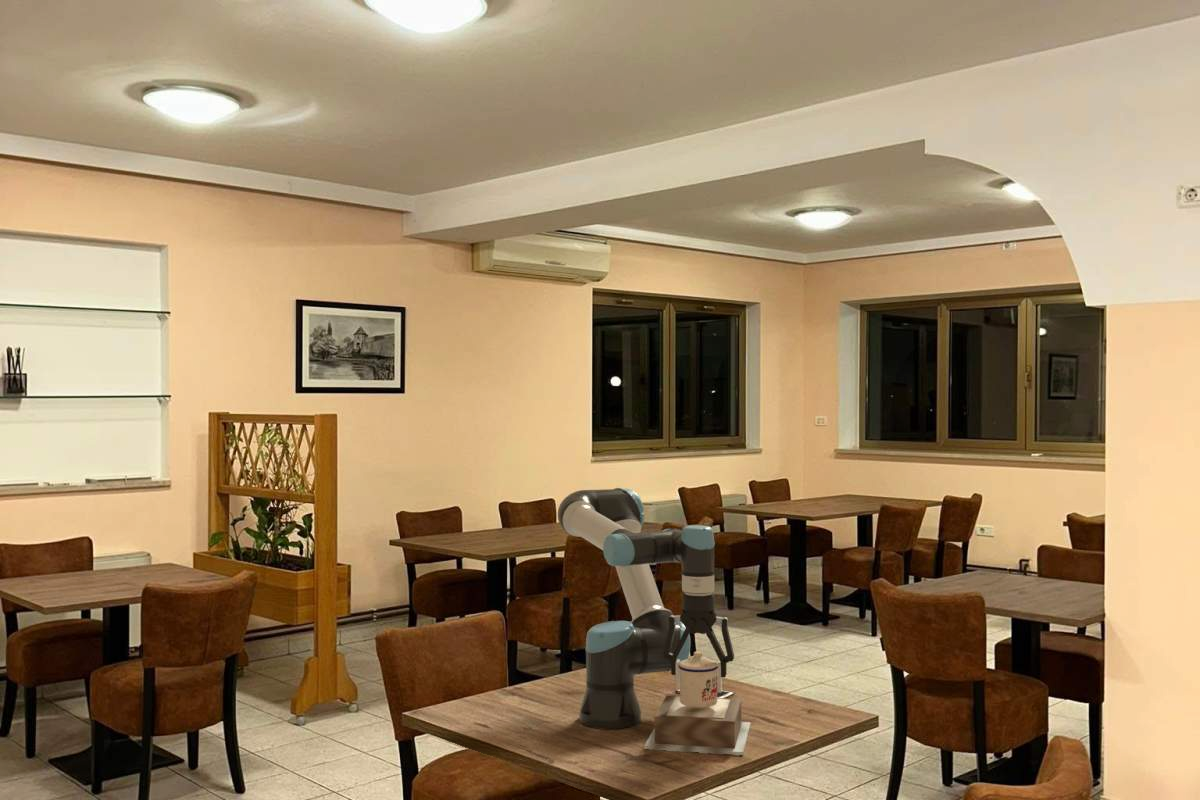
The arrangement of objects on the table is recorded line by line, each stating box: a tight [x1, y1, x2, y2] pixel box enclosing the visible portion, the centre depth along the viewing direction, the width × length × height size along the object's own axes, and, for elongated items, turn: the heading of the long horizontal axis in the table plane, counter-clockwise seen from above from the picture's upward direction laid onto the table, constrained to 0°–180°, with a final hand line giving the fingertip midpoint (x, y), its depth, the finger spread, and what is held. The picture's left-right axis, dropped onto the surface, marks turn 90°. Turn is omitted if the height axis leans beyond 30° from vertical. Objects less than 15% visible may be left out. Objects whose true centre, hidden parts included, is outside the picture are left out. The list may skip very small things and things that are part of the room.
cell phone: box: [674, 688, 736, 699], centre depth 280 cm, size 8×15×1 cm, turn 53°
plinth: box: [643, 694, 752, 756], centre depth 244 cm, size 22×22×7 cm
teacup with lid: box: [678, 651, 718, 708], centre depth 244 cm, size 12×9×12 cm
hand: (698, 689), depth 244 cm, fingers closed on teacup with lid, 9 cm apart
